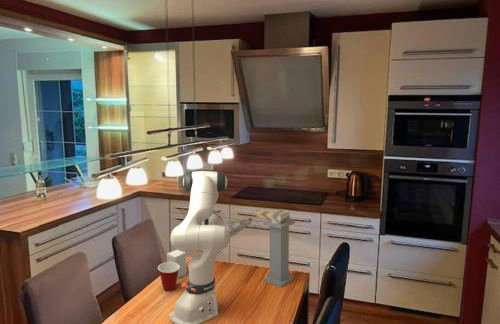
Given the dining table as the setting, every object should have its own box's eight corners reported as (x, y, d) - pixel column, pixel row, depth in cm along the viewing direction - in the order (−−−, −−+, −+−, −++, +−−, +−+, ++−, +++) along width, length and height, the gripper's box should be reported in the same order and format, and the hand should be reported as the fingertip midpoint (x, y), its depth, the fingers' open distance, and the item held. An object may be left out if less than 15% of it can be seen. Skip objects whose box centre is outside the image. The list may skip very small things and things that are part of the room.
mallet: (289, 220, 187) (289, 210, 186) (280, 224, 181) (280, 214, 180) (261, 213, 199) (261, 205, 198) (252, 217, 192) (252, 208, 192)
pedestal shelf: (281, 287, 183) (281, 226, 178) (263, 280, 190) (263, 221, 185) (294, 278, 192) (294, 220, 187) (277, 272, 199) (277, 216, 194)
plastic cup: (174, 295, 176) (173, 272, 175) (154, 292, 179) (153, 269, 178) (184, 285, 187) (183, 262, 185) (165, 282, 190) (164, 260, 188)
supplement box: (178, 270, 203) (177, 249, 201) (187, 274, 198) (186, 252, 196) (167, 275, 197) (166, 253, 195) (176, 279, 193) (175, 256, 191)
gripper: (215, 228, 203) (231, 220, 194) (239, 219, 218) (255, 211, 209) (219, 239, 202) (235, 231, 193) (243, 229, 217) (259, 221, 208)
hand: (246, 221), depth 201 cm, fingers open, 8 cm apart
